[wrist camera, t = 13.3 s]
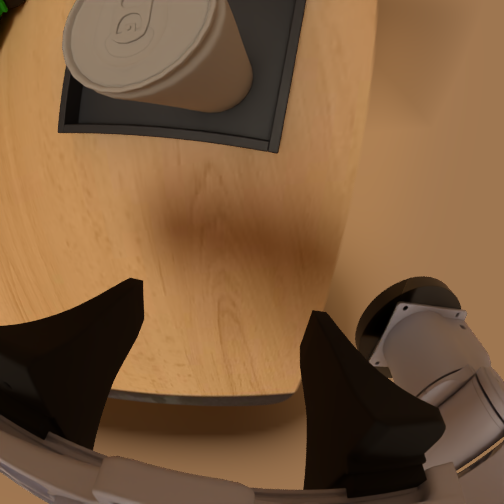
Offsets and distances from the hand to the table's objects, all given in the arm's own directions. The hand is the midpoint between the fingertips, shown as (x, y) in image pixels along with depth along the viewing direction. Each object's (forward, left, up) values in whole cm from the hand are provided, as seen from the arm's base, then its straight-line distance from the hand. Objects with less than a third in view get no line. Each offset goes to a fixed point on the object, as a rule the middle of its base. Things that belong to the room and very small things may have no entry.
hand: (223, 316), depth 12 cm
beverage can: (+3, -10, -9) cm, 14 cm away
